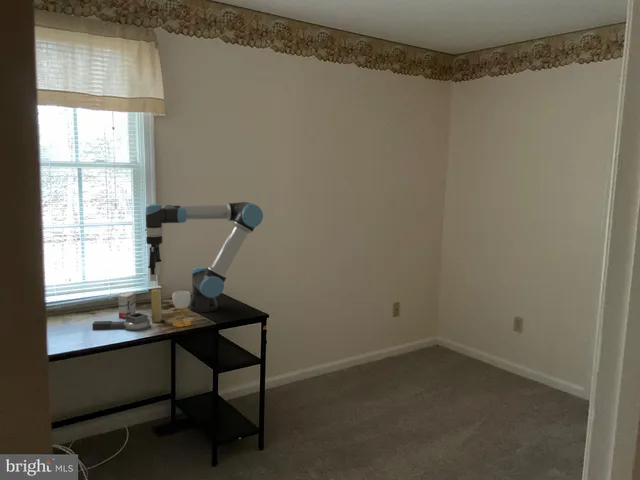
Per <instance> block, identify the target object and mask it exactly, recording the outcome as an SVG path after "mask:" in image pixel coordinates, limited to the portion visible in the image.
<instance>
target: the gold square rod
mask: <svg viewBox="0 0 640 480" xmlns="http://www.w3.org/2000/svg"><path fill="white" fill-rule="evenodd" d="M161 292H162V290H161V289H159V288H157V289H156V288H155V289H152V290H151V291H150V295H151V296H150V297H151V298H150V299H151V302H150V303H151V323H161V322H162V299H161V297H162V296H161V295H162V293H161Z"/></svg>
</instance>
